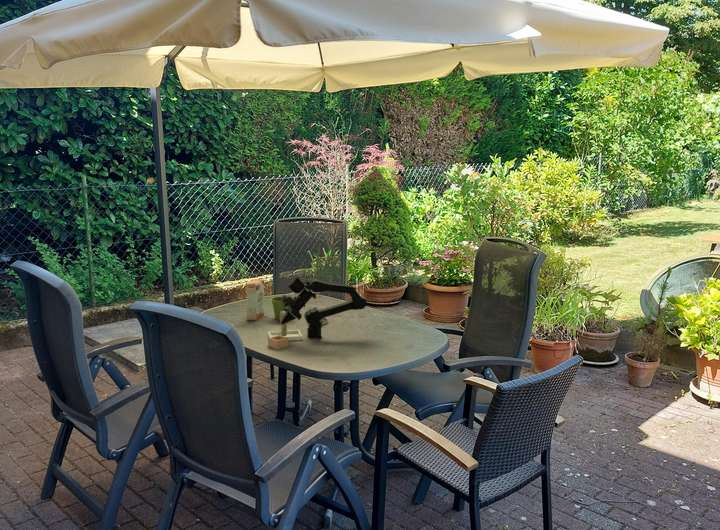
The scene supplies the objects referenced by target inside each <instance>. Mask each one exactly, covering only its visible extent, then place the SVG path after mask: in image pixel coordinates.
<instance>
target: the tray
mask: <svg viewBox="0 0 720 530" xmlns="http://www.w3.org/2000/svg"><path fill="white" fill-rule="evenodd" d="M278 335H281V330H273V331H267V337H268V338H270V337H274V336H278ZM284 337H287V338H288V342H292V341H293V342H296V341H303V339H304V338H303V337H304V336H303V334H302V333H301V331H300V329H287V336H284Z"/></svg>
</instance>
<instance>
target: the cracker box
mask: <svg viewBox="0 0 720 530" xmlns="http://www.w3.org/2000/svg"><path fill="white" fill-rule="evenodd" d="M246 312H247V313H246V315H247V316H246V319H247V320H248V321H257V320H258V319H260V318H262V316H264V315H265V280H264V279H261V278H255V279H253V280H251V281H249V282H248V283H246ZM263 314H264V315H263Z"/></svg>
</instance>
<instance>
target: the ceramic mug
mask: <svg viewBox="0 0 720 530" xmlns="http://www.w3.org/2000/svg"><path fill="white" fill-rule="evenodd" d="M316 308H317V307H316ZM317 309H318V310H320V308H317ZM320 322H321V323H322V324H323V323H324V324H327V322H329V319H328V318H327V317H325V318H323V319H322V320H320Z"/></svg>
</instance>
